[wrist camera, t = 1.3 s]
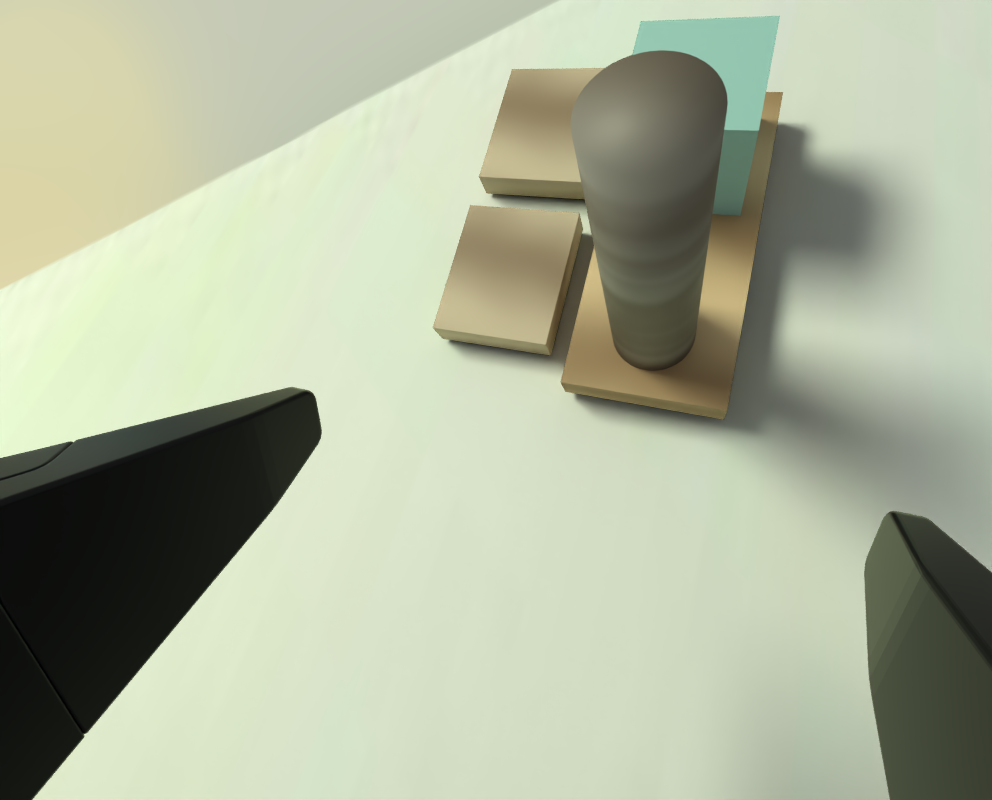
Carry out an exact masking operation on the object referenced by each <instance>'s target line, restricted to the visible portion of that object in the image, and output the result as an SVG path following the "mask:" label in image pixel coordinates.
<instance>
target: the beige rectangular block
mask: <svg viewBox="0 0 992 800" xmlns="http://www.w3.org/2000/svg"><path fill="white" fill-rule="evenodd" d="M603 69H604V68H580V69H512V71H511V75H510V78H509V81H508V84H507V88H506V91H505V94H504V97H503V101H502V104H501V107H500V110H499V114H498V117H497V120H496V123H495V127H494V130H493V133H492V136H491V140H490V143H489V146H488V149H487V153H486V156H485V159H484V162H483V166H482V169H481V172H480V175H479V178H480V180H481V182H482V184H483V186H484V189H485V191H486V193H491V194H507V195H523V196H539V197H555V198H571V199H585V198H584V193H583V188H582V183H581V178H580V173H579V168H578V163H577V159H576V154H575V149H574V144H573V139H572V133H571V115H572V110H573V107H574V105H575V102H576V100H577V98H578V96H579V94H580V93H581V91H582V90H583V88H584V87H585V86H586V85H587V84H588V82H589V81H590V80H591V79H592V78H593V77H595V76H596V75H597V74H598V73H599V72H601V71H602V70H603ZM582 231H583V227H582V222H581V218H580V213H572V212H558V211H544V210H529V209H515V208H501V207H487V206H473V205H470V208H469V211H468V214H467V218H466V221H465V224H464V227H463V231H462V234H461V237H460V240H459V244H458V247H457V250H456V253H455V257H454V260H453V263H452V266H451V270H450V273H449V276H448V279H447V283H446V286H445V289H444V292H443V296H442V299H441V302H440V306H439V309H438V312H437V315H436V319H435V322H434V325H433V328H434V330H435V331H436V332H437V333H438V334H439V335H440V336H441V337H442V338H443V339H448V340H455V341H461V342H468V343H474V344H480V345H487V346H493V347H500V348H506V349H512V350H519V351H525V352H532V353H538V354H544V355H551V354H552V350H553V346H554V342H555V338H556V334H557V330H558V326H559V322H560V318H561V314H562V310H563V306H564V302H565V298H566V294H567V290H568V287H569V283H570V279H571V275H572V271H573V267H574V263H575V259H576V255H577V251H578V247H579V243H580V239H581V235H582Z"/></svg>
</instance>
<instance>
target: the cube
mask: <svg viewBox="0 0 992 800" xmlns="http://www.w3.org/2000/svg"><path fill="white" fill-rule="evenodd" d="M779 17H780V16H765V17H739V18H714V19H688V20H662V21H641V22H640V26H639V30H638V34H637V38H636V42H635V46H634V50H633V54H632V55H635V54H638V53H642V52H648V51H658V50H667V51H677V52H682V53H686V54H690V55H692V56H695V57H697V58H699V59H701V60H703V61H704V62H706V63H707V64H709V65H710V66H711V67H712V68H713V69H714V70H715V71H716V72H717V73H718V75H719V76H720V78H721V79H722V81H723V83H724V85H725V88H726V92H727V100H728V105H727V114H726V121H725V128H724V135H723V142H722V149H721V157H720V164H719V171H718V178H717V185H716V192H715V200H714V207H713V214H720V215H735V216H740V215H741V210H742V206H743V201H744V196H745V192H746V187H747V183H748V178H749V173H750V169H751V164H752V160H753V155H754V150H755V146H756V141H757V136H758V132H759V127H760V121H761V116H762V110H763V105H764V99H765V94H766V88H767V83H768V77H769V72H770V66H771V61H772V56H773V50H774V45H775V39H776V34H777V28H778V23H779Z"/></svg>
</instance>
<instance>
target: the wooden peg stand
mask: <svg viewBox="0 0 992 800" xmlns="http://www.w3.org/2000/svg"><path fill="white" fill-rule="evenodd" d="M782 95H783V92H766V94H765V99H764V105H763V110H762V116H761V121H760V127H759V132H758V136H757V141H756V146H755V150H754V155H753V160H752V164H751V169H750V173H749V178H748V183H747V187H746V192H745V196H744V201H743V206H742V210H741V215H740V216H735V215H720V214H713V207H714V200H715V192H716V185H717V178H718V171H719V164H720V157H721V149H722V142H723V135H724V128H725V121H726V114H727V105H728V100H727V92H726V88H725V85H724V83H723V81H722V79H721V78H720V76H719V75H718V73H717V72H716V71H715V70H714V69H713V68H712V67H711V66H710V65H709V64H707V63H706V62H704V61H703V60H701V59H699V58H697V57H695V56H692V55H690V54H686V53H682V52H677V51H667V50H658V51H648V52H642V53H638V54H635V55H631V56H628V57H626V58H623V59H621V60H619V61H617V62H615V63H613V64H611V65H609V66H608V67H606V68H604V69H603V70H602V71H601V72H599V73H598V74H597V75H596V76H595V77H593V78H592V79H591V80H590V81H589V82H588V84H587V85H586V86H585V87H584V88H583V90H582V91H581V93H580V94H579V96H578V98H577V100H576V102H575V105H574V107H573V110H572V115H571V133H572V139H573V144H574V149H575V154H576V159H577V163H578V168H579V173H580V178H581V183H582V188H583V193H584V198H585V203H586V208H587V213H588V218H589V223H590V228H591V233H592V238H593V243H594V249H593V253H592V257H591V261H590V265H589V269H588V273H587V277H586V281H585V285H584V289H583V293H582V297H581V302H580V306H579V310H578V314H577V318H576V322H575V326H574V330H573V334H572V338H571V342H570V346H569V350H568V354H567V358H566V362H565V366H564V370H563V374H562V379H561V384H562V386H563V388H564V390H565V392H571V393H576V394H582V395H588V396H593V397H599V398H605V399H610V400H616V401H622V402H627V403H633V404H639V405H644V406H650V407H656V408H661V409H667V410H673V411H678V412H684V413H690V414H695V415H701V416H707V417H712V418H718V419H724V418H725V415H726V413H727V409H728V404H729V398H730V392H731V386H732V381H733V375H734V369H735V364H736V358H737V352H738V346H739V341H740V335H741V329H742V323H743V318H744V312H745V306H746V301H747V295H748V289H749V283H750V278H751V272H752V266H753V261H754V255H755V249H756V243H757V238H758V232H759V226H760V220H761V215H762V209H763V203H764V198H765V192H766V186H767V180H768V175H769V169H770V163H771V158H772V152H773V146H774V140H775V135H776V129H777V123H778V118H779V112H780V106H781V100H782Z"/></svg>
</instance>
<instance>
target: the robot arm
mask: <svg viewBox="0 0 992 800" xmlns="http://www.w3.org/2000/svg"><path fill="white" fill-rule="evenodd" d="M321 434H322V429H321V423H320V418H319V413H318V407H317V402H316V398H315V396H314V394H313V393H312V392H311V391H309V390H304V389H299V388H295V387H289V388H285V389H281V390H277V391H272V392H268V393H264V394H260V395H256V396H252V397H248V398H244V399H240V400H236V401H232V402H228V403H224V404H220V405H216V406H212V407H208V408H204V409H200V410H196V411H192V412H188V413H184V414H179V415H175V416H171V417H167V418H163V419H159V420H155V421H151V422H147V423H143V424H139V425H135V426H131V427H127V428H123V429H119V430H115V431H111V432H107V433H103V434H99V435H95V436H91V437H87V438H82V439H78V440H76V441H75V442H66V443H62V444H58V445H54V446H50V447H46V448H41V449H37V450H33V451H29V452H25V453H20V454H16V455H12V456H8V457H3V458H0V800H33V798H34V797H35V796H36V795H37V794H38V792H39V791H40V790H41V789H42V787H43V786H44V785H45V784H46V783H47V781H48V780H49V779H50V778H51V777H52V775H53V774H54V773H55V772H56V771H57V769H58V768H59V767H60V766H61V765H62V763H63V762H64V761H65V760H66V759H67V757H68V756H69V755H70V754H71V753H72V751H73V750H74V749H75V748H76V747H77V745H78V744H79V743H80V742H81V741H82V739H83V738H84V734H86V733H87V732H88V731H89V730H90V729H91V728H92V727H93V725H94V724H95V723H96V722H97V721H98V719H99V718H100V717H101V716H102V715H103V713H104V712H105V711H106V710H107V709H108V707H109V706H110V705H111V704H112V703H113V701H114V700H115V699H116V698H117V697H118V695H119V694H120V693H121V692H122V691H123V689H124V688H125V687H126V686H127V685H128V683H129V682H130V681H131V680H132V679H133V677H134V676H135V675H136V674H137V673H138V671H139V670H140V669H141V668H142V667H143V665H144V664H145V663H146V662H147V661H148V659H149V658H150V657H151V656H152V655H153V653H154V652H155V651H156V650H157V649H158V647H159V646H160V645H161V644H162V643H163V641H164V640H165V639H166V638H167V637H168V635H169V634H170V633H171V632H172V631H173V629H174V628H175V627H176V626H177V624H178V623H179V622H180V621H181V620H182V618H183V617H184V616H185V615H186V614H187V612H188V611H189V610H190V609H191V608H192V606H193V605H194V604H195V603H196V602H197V600H198V599H199V598H200V597H201V596H202V594H203V593H204V592H205V591H206V590H207V588H208V587H209V586H210V585H211V584H212V582H213V581H214V580H215V579H216V578H217V576H218V575H219V574H220V573H221V572H222V570H223V569H224V568H225V567H226V566H227V564H228V563H229V562H230V561H231V560H232V558H233V557H234V556H235V555H236V554H237V552H238V551H239V550H240V549H241V548H242V546H243V545H244V544H245V543H246V542H247V540H248V539H249V538H250V537H251V536H252V534H253V533H254V532H255V531H256V530H257V528H258V527H259V526H260V525H261V524H262V522H263V521H264V520H265V519H266V518H267V516H268V515H269V514H270V513H271V511H272V510H273V509H274V507H275V506H276V505H277V503H278V502H279V501H280V499H281V498H282V496H283V495H284V493H285V492H286V491H287V489H288V488H289V486H290V485H291V483H292V482H293V480H294V479H295V477H296V476H297V474H298V473H299V471H300V470H301V468H302V467H303V465H304V464H305V463H306V461H307V460H308V458H309V457H310V455H311V454H312V452H313V451H314V449H315V448H316V446H317V445H318V443H319V441H320V439H321ZM864 578H865V601H866V625H867V649H868V668H869V681H870V688H871V695H872V701H873V707H874V713H875V718H876V724H877V730H878V735H879V741H880V747H881V752H882V758H883V763H884V769H885V775H886V780H887V786H888V792H889V797H890V800H992V572H990V571H989V570H988V569H987V568H986V567H985V566H983V565H982V564H981V563H980V562H979V561H978V560H976V559H975V558H974V557H973V556H972V555H970V554H969V553H968V552H967V551H966V550H965V549H963V548H962V547H961V546H960V545H959V544H958V543H956V542H955V541H954V540H953V539H952V538H950V537H949V536H948V535H947V534H946V533H945V532H943V531H942V530H941V529H940V528H939V527H938V526H936V525H935V524H934V523H933V522H932V521H930V520H929V519H927V518H925V517H922V516H917V515H912V514H907V513H902V512H897V511H891V512H889V513H887V514H886V516H885V517H884V518H883V520H882V523H881V525H880V527H879V530H878V532H877V535H876V537H875V539H874V542H873V544H872V546H871V549H870V551H869V553H868V556H867V559H866V563H865V571H864Z"/></svg>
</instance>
